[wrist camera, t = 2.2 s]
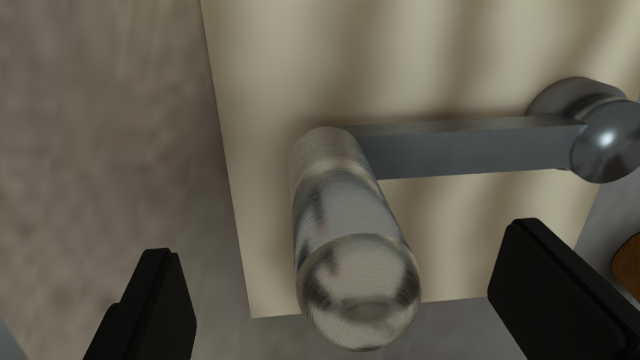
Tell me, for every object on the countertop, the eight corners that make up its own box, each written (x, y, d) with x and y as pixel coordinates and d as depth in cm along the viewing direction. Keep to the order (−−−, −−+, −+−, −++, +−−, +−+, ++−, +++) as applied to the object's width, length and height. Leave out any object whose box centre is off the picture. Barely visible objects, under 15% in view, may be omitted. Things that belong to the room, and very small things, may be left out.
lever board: (662, -13, 20) (720, -11, 17) (546, 279, 31) (572, 307, 28) (204, -2, 18) (191, 1, 15) (252, 305, 29) (249, 338, 26)
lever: (640, 91, 19) (1043, 213, 9) (609, 164, 21) (907, 329, 11) (285, 108, 18) (293, 276, 8) (290, 185, 20) (302, 396, 10)
